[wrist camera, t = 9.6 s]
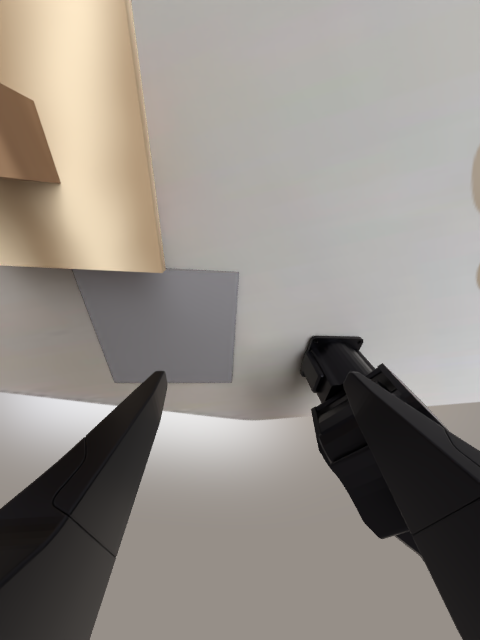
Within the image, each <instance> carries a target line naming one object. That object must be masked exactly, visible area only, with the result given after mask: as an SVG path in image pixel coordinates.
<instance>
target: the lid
mask: <svg viewBox="0 0 480 640" xmlns="http://www.w3.org/2000/svg"><path fill="white" fill-rule="evenodd" d="M0 265H3V266H24V267H45V268H66V269H87V270H108V271H129V272H150V273H163V272H164V271H165V270H166V269H165V261H164V253H163V245H162V238H161V230H160V222H159V214H158V206H157V199H156V191H155V183H154V175H153V168H152V160H151V152H150V144H149V137H148V129H147V121H146V113H145V105H144V98H143V90H142V82H141V74H140V67H139V59H138V51H137V43H136V35H135V28H134V20H133V12H132V4H131V0H0Z"/></svg>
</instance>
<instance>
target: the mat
mask: <svg viewBox="0 0 480 640" xmlns="http://www.w3.org/2000/svg"><path fill="white" fill-rule="evenodd" d="M165 269H166V268H165ZM72 271H73V274H74V276H75V279H76V281H77V284H78V287H79V289H80V292H81V295H82V297H83V300H84V303H85V305H86V308H87V311H88V313H89V316H90V319H91V321H92V324H93V326H94V329H95V332H96V334H97V337H98V340H99V342H100V345H101V348H102V350H103V353H104V356H105V358H106V361H107V364H108V366H109V369H110V371H111V374H112V377H113V379H114V382H115V383H143V382H144V381H145V380H146V379H147V378H148V377H149V376H150V375H152V374H153V373H154V372H155V371H165V373H166V378H167V383H232V370H233V355H234V340H235V325H236V310H237V296H238V281H239V272H226V271H206V270H186V269H166V270H165V271H164V272H163V273H150V272H129V271H108V270H87V269H72Z"/></svg>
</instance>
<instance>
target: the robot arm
mask: <svg viewBox="0 0 480 640" xmlns="http://www.w3.org/2000/svg"><path fill="white" fill-rule="evenodd" d="M314 340H316V341H314ZM362 343H363V339H362V338H361V337H340V336H313V337H312V338H311V340H310V343H309V346H308V349H307V351H306V353H305V356H304V359H303V362H302V365H301V371H300V373H301V376H303V377H306V379H307V381H308V383H309V385H310V387H311V390H312V391H313V392H314V393H317V395H318V397H319V399H320V401H321V403H322V404H320V405H319V406H317V407H314V408H312V409H311V411H312V417H313V422H314V427H315V432H316V438H317V443H318V448H319V451H320V453H321V454H322V456H323V458H324V459H325V461H326V463H327V464H328V466H329V467H330V468H331V469H332V471H333V472H334V473H335V474H336V475H337V477H338V478H339V479H340V481H341V482H342V484H343V485H344V487H345V488H346V490H347V492H348V493H349V495H350V497H351V499H352V501H353V502H354V504H355V506H356V508H357V510H358V512H359V514H360V516H361V518H362V520H363V521H364V523H365V524H366V525H367V526H368V527H369V528H370V529H371V530H372V531H373V532H374V533H375V534H376V535H377V536H378V537H379V538H381V539H384V538H388V537H391V536H395V537H396V538H398V539H399V540H400V541H402V542H403V543H404V544H405V545H407V546H408V547H409V548H411V549H412V550H413V551H414V552H416V553H417V554H418V555H419V556H420V557H421V558H422V559H423V561H424V562H425V564H426V566H427V568H428V570H429V571H430V574H431V576H432V578H433V580H434V582H435V584H436V586H437V588H438V591H439V593H440V595H441V597H442V599H443V601H444V603H445V605H446V607H447V609H448V611H449V613H450V615H451V617H452V620H453V622H454V624H455V626H456V628H457V630H458V632H459V633H460V635H461V637H462V639H463V640H480V451H479V450H477V449H476V448H474V447H472V446H471V445H469V444H468V443H466V442H464V441H463V440H461V439H460V438H458V437H457V436H455V435H454V434H452V433H451V432H449V430H448V429H447V428H446V427H445V426H444V425H443V424H442V423H441V422H440V421H439V420H438V418H437V417H436V416H435V415H434V414H433V413H432V412H431V411H430V410H429V409H428V408H427V406H426V405H425V404H424V403H423V402H422V401H421V400H420V399H419V398H418V397H417V396H416V395H415V394H414V393H413V392H412V391H411V390H410V389H409V388H408V387H407V386H406V385H405V384H404V383H403V382H402V381H401V380H400V379H399V378H398V377H396V376H395V375H394V374H393V373H392V372H391V371H390V370H389V369H388V368H387V367H386V366H385V365H384V364H383V363H382V364H381V365H379V366H377V367H378V368H376V369H375V368H374V367H373V366H372V365H371V364H370V362H369V361H368V360H367V359H366V358H365V357H364V356H363V355H362V354H361V352H360V351H359V350H360V347H361V345H362ZM166 391H167V378H166V373H165V371H155V372H154V373H153V374H152V375H150V376H149V377H148V378H147V379H146V380H145V381H144V382H143V383H142V384H141V385H140V386H139V387H138V388H137V389H135V390H134V391H133V392H132V393H131V394H130V395H129V396H128V397H127V398H126V399H125V400H124V401H123V402H122V403H120V404H119V405H118V406H117V407H116V408H115V409H114V410H113V411H112V412H111V413H110V414H109V415H108V416H107V417H105V419H103V420H102V421H101V422H100V423H99V424H98V425H97V426H96V427H95V428H94V429H93V430H91V431H90V432H89V433H88V434H87V435H86V437H84V438H83V439H82V440H81V441H80V442H79V443H77V444H76V445H75V446H74V447H73V448H72V449H71V450H70V451H69V452H68V453H67V454H65V455H64V456H63V457H62V458H61V459H60V460H59V461H58V462H56V463H55V464H54V465H53V466H52V467H50V468H49V469H48V470H47V471H46V472H45V473H43V474H42V475H41V476H40V477H39V478H37V479H36V480H35V481H34V482H33V483H31V484H30V485H29V486H28V487H26V488H25V489H24V490H23V491H22V492H20V493H19V494H18V495H17V496H15V497H14V498H13V499H12V500H11V501H9V502H8V503H7V504H6V505H4V506H3V507H2V508H1V509H0V640H90V637H91V634H92V630H93V627H94V624H95V621H96V618H97V615H98V611H99V609H100V606H101V603H102V600H103V596H104V593H105V590H106V587H107V584H108V581H109V578H110V575H111V572H112V569H113V565H114V562H115V559H116V558H115V557H116V556H117V553H118V550H119V547H120V544H121V540H122V537H123V534H124V531H125V528H126V525H127V522H128V519H129V516H130V513H131V509H132V507H133V504H134V500H135V497H136V494H137V491H138V488H139V485H140V482H141V479H142V476H143V473H144V470H145V466H146V463H147V460H148V457H149V454H150V451H151V448H152V445H153V442H154V439H155V435H156V432H157V430H158V426H159V423H160V420H161V415H162V410H163V405H164V401H165V396H166Z"/></svg>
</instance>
